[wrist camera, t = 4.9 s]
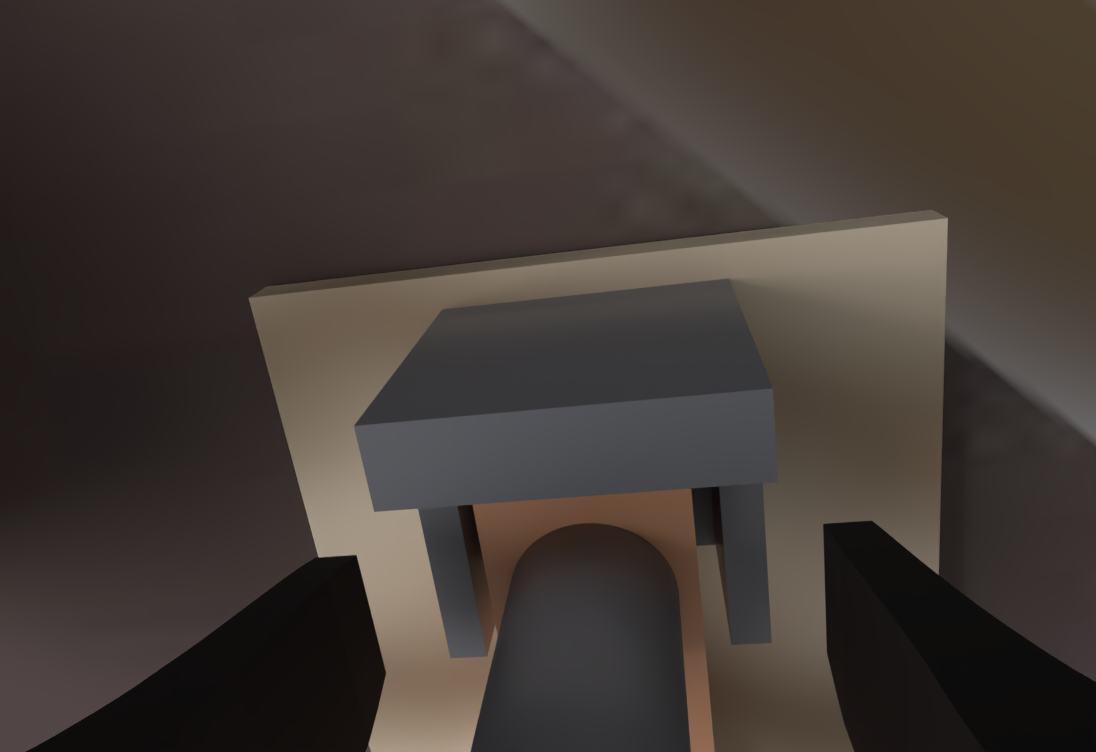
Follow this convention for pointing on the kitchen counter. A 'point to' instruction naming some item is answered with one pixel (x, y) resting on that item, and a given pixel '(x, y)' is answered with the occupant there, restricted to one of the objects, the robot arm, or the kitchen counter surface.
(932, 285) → the base board
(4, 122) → the kitchen counter surface
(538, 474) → the socket cradle
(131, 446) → the kitchen counter surface
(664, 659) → the bar
